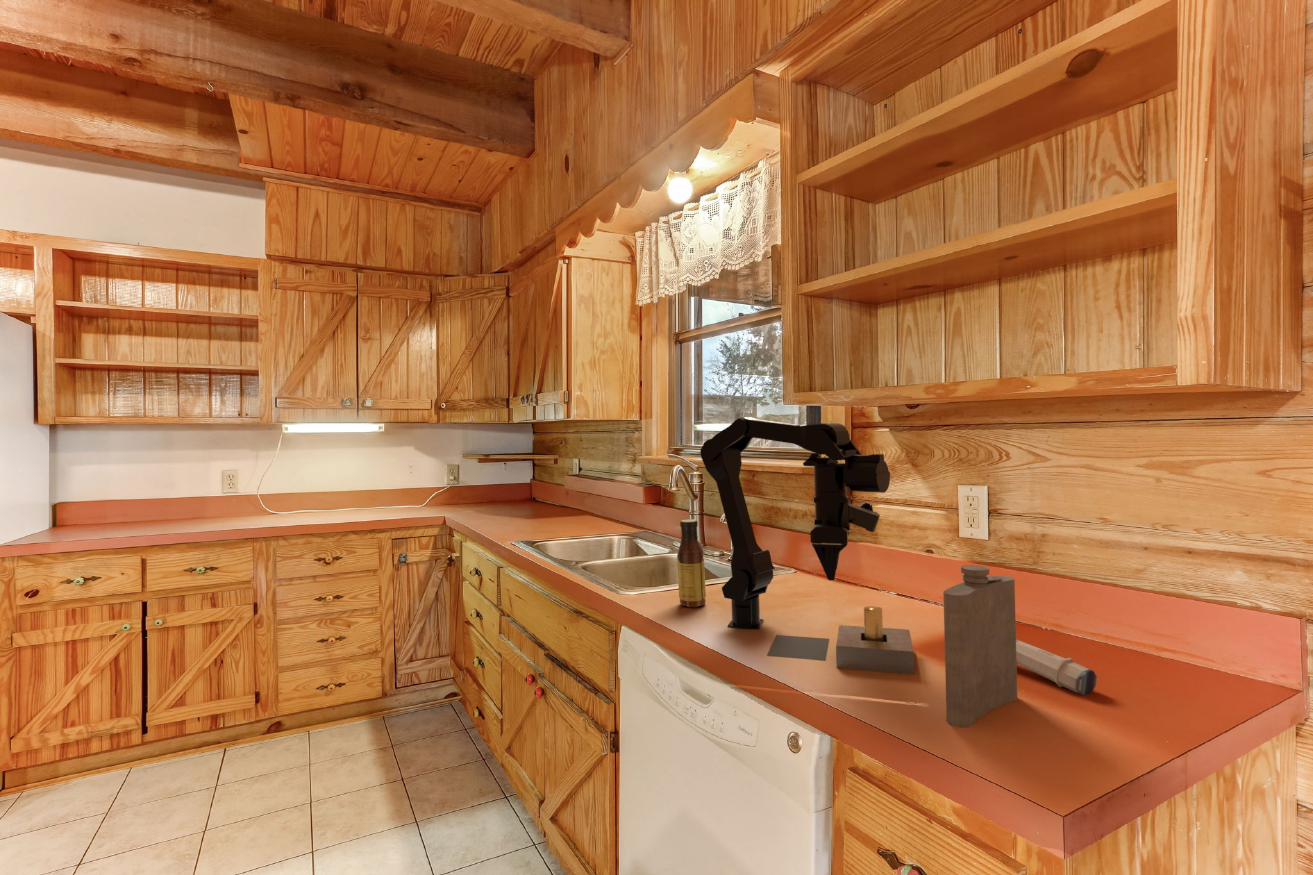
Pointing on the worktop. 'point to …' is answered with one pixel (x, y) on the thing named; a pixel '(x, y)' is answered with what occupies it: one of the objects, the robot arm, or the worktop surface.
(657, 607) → the worktop surface
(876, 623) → the pin
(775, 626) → the worktop surface
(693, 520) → the sauce bottle
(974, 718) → the hip flask
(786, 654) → the mat
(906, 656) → the block
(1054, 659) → the flashlight
